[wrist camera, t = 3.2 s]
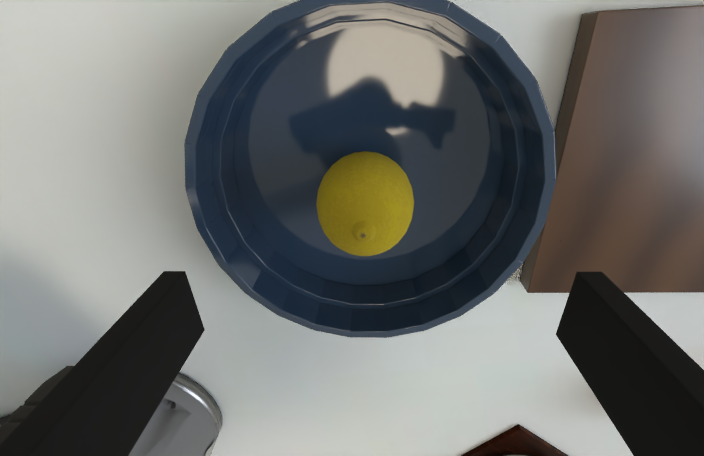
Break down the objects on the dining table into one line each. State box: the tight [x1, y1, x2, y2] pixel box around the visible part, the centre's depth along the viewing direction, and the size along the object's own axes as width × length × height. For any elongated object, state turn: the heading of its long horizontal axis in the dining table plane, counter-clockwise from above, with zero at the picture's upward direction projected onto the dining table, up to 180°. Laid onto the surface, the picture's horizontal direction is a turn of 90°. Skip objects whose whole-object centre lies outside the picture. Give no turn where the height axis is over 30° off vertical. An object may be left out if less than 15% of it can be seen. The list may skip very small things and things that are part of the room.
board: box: [520, 5, 704, 293], centre depth 21 cm, size 16×18×2 cm
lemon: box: [316, 151, 414, 256], centre depth 19 cm, size 6×6×8 cm
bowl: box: [185, 0, 556, 338], centre depth 21 cm, size 20×20×5 cm
